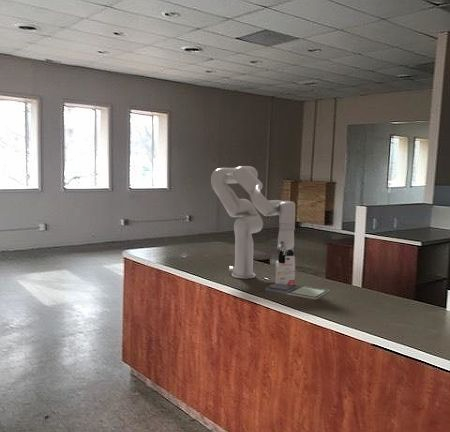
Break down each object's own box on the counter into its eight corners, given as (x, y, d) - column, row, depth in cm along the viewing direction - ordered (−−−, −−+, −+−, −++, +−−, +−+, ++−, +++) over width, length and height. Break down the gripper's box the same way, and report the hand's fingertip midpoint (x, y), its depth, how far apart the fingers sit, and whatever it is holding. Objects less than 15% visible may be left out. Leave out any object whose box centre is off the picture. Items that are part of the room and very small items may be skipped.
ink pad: (265, 290, 228) (265, 286, 228) (274, 286, 237) (274, 282, 237) (286, 294, 223) (286, 290, 222) (295, 289, 231) (295, 286, 231)
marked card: (286, 294, 223) (286, 292, 222) (301, 286, 237) (301, 285, 237) (315, 299, 215) (315, 298, 215) (329, 291, 230) (329, 289, 230)
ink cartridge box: (290, 282, 244) (291, 254, 242) (294, 285, 239) (295, 255, 238) (274, 283, 242) (275, 254, 240) (278, 286, 237) (279, 256, 235)
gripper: (287, 224, 246) (286, 257, 248) (272, 228, 232) (271, 263, 234) (301, 225, 243) (300, 259, 244) (286, 229, 228) (285, 265, 230)
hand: (285, 261), depth 239 cm, fingers closed on ink cartridge box, 9 cm apart
